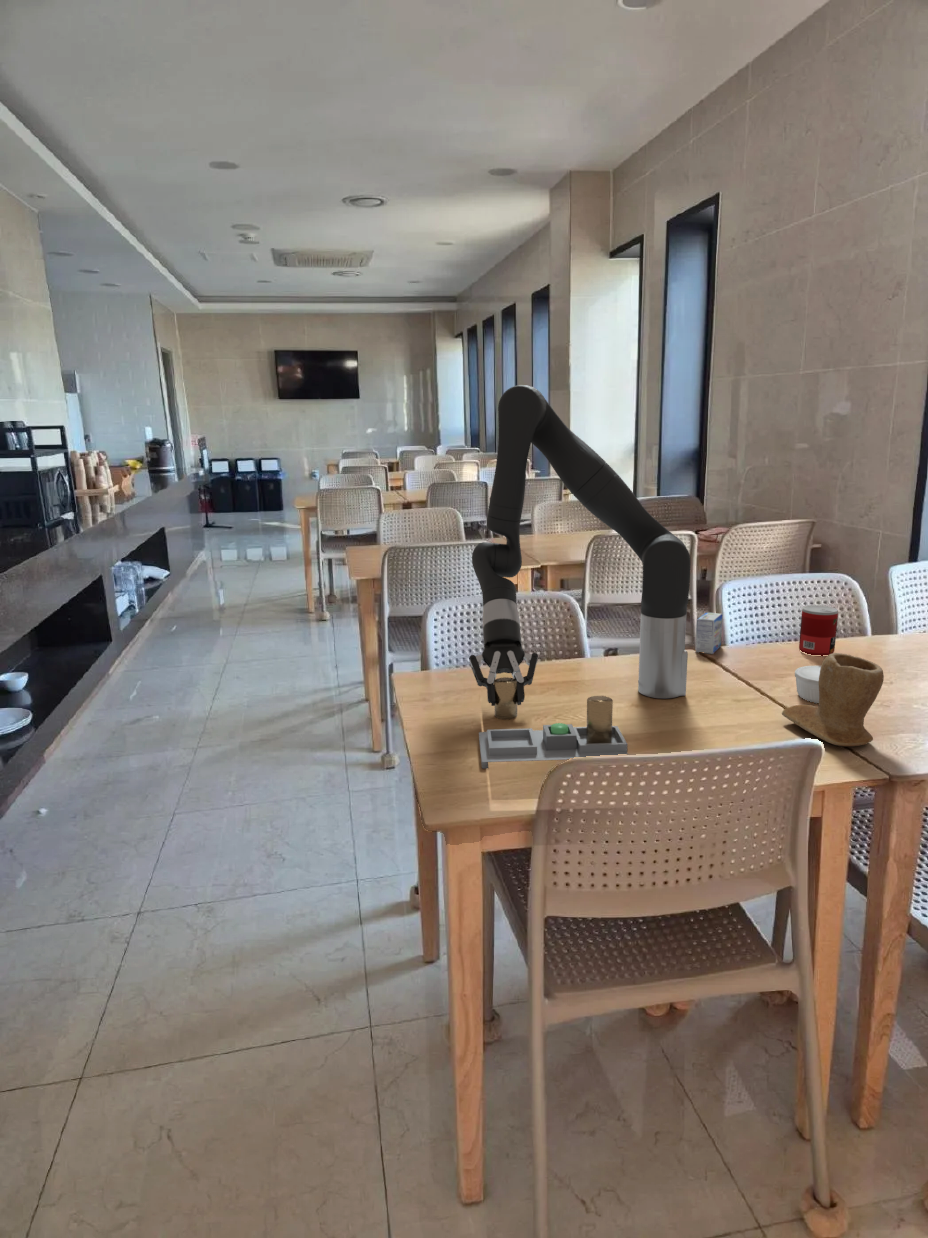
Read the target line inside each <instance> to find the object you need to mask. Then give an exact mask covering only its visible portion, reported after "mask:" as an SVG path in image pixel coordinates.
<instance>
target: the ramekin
mask: <svg viewBox="0 0 928 1238" xmlns="http://www.w3.org/2000/svg"><path fill="white" fill-rule="evenodd" d="M820 669H821V665H805V666H804V665H803V666H800V667H798V668H796V669H795V671H794V678H795V684H796V685H795V686H796V692H797V694H798V696H799V697H800V698H801V699H802V698H803V700H804V699H805V701H806V700H807V702H809V701H810V703H812V702H814V703H813V704H817V703H819V675H820Z"/></svg>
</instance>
